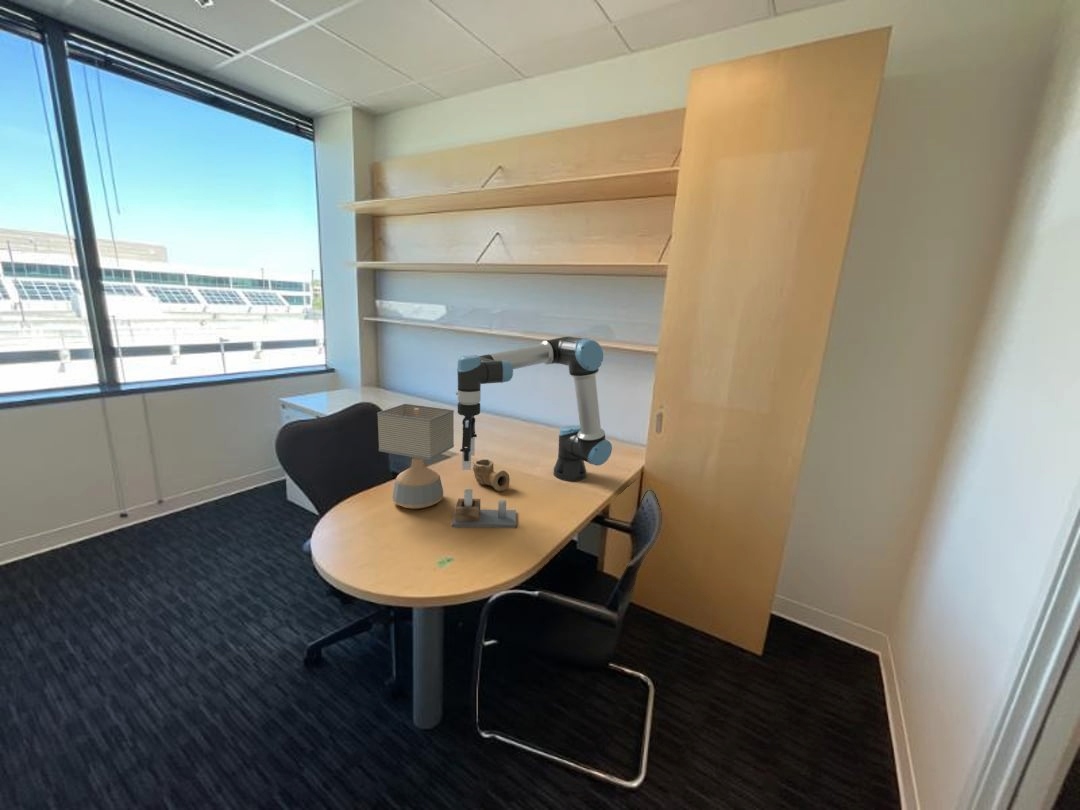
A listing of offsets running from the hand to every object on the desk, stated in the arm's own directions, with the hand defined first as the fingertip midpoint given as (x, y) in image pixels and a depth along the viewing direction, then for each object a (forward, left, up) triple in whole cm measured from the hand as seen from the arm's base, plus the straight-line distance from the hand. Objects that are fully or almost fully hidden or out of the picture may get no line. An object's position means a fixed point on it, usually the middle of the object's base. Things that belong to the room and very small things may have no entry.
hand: (468, 462), depth 149 cm
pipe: (-6, -29, -22) cm, 37 cm away
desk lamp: (+21, -14, -22) cm, 33 cm away
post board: (-6, 0, -22) cm, 22 cm away
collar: (0, 0, -21) cm, 21 cm away
